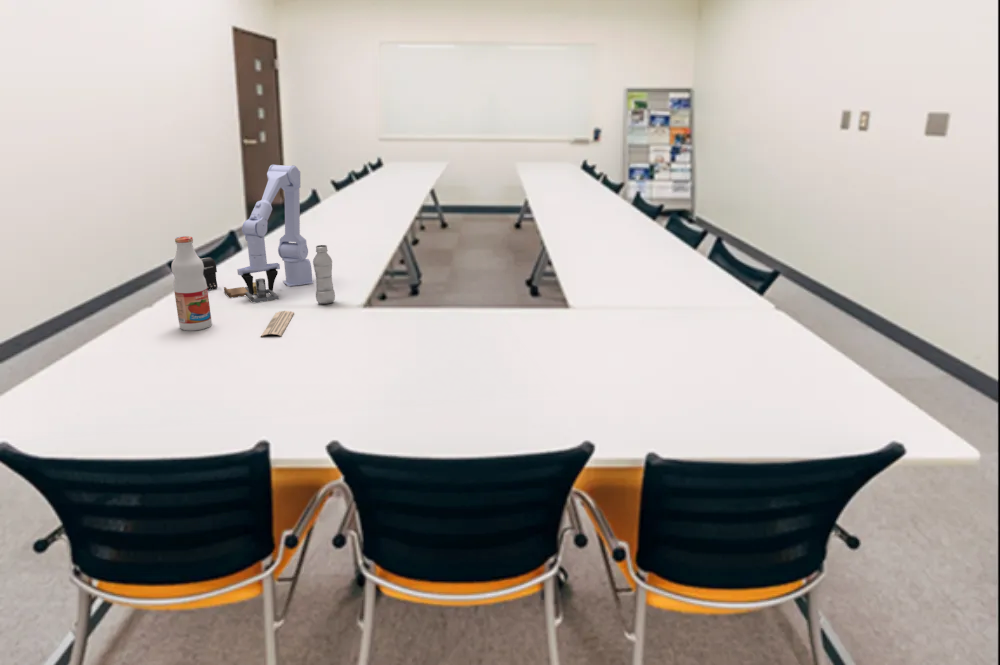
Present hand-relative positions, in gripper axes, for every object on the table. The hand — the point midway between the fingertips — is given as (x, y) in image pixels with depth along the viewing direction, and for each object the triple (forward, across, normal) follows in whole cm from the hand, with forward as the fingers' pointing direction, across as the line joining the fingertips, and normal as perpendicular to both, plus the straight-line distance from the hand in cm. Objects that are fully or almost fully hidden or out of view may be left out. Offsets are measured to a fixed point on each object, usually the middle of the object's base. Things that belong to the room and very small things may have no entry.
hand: (261, 291), depth 260 cm
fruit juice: (+2, +29, +19) cm, 35 cm away
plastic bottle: (+2, -14, +21) cm, 26 cm away
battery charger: (+2, +10, -23) cm, 25 cm away
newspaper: (+3, +10, +34) cm, 35 cm away
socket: (+2, -1, -4) cm, 4 cm away
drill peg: (+2, 0, 0) cm, 2 cm away
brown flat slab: (+2, +5, -10) cm, 12 cm away
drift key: (+2, -1, -7) cm, 8 cm away
